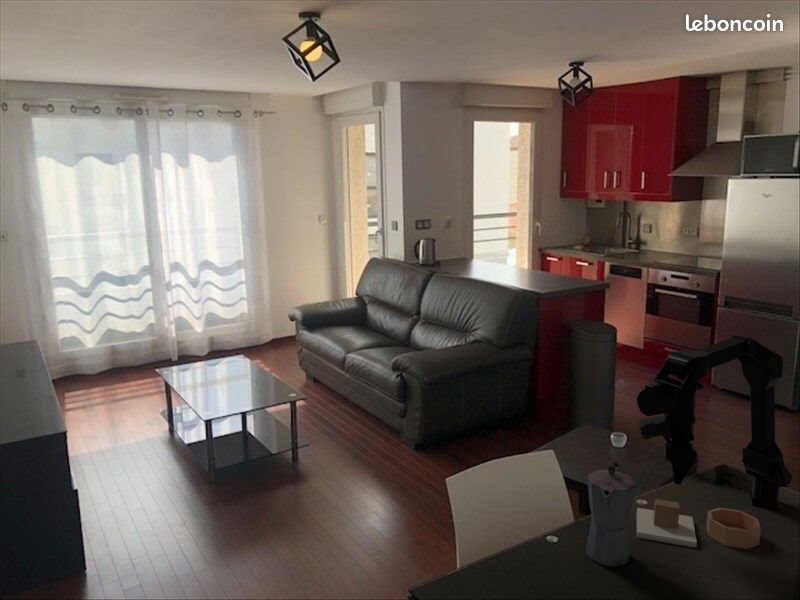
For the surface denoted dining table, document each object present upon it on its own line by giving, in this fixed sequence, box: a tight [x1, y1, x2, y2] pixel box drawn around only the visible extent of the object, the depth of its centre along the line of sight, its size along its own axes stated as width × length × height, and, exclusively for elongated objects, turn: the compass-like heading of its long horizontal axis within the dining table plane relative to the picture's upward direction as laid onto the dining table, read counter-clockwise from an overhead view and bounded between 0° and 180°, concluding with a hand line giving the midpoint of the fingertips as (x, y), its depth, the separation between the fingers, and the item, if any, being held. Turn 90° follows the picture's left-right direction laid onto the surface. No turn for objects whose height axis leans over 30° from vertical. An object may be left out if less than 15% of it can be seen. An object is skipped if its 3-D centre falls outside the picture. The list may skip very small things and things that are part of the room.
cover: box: [636, 498, 698, 547], centre depth 142 cm, size 12×12×6 cm
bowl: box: [706, 507, 762, 550], centre depth 140 cm, size 10×10×4 cm
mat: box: [636, 534, 697, 549], centre depth 143 cm, size 12×12×1 cm
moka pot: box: [585, 462, 637, 567], centre depth 131 cm, size 10×15×20 cm, turn 158°
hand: (676, 475), depth 142 cm, fingers open, 9 cm apart
